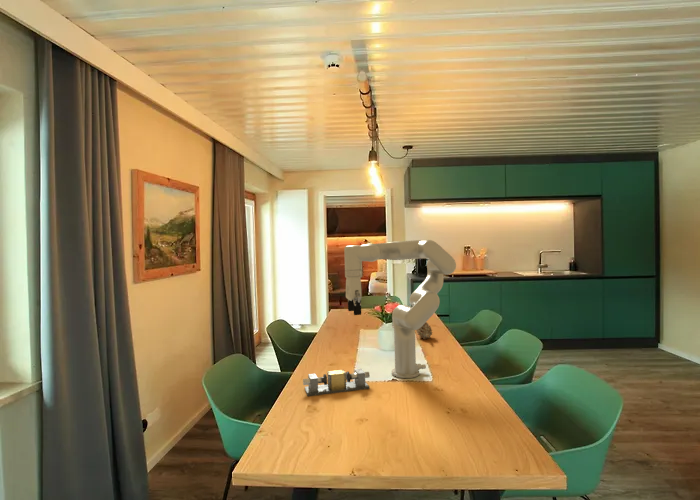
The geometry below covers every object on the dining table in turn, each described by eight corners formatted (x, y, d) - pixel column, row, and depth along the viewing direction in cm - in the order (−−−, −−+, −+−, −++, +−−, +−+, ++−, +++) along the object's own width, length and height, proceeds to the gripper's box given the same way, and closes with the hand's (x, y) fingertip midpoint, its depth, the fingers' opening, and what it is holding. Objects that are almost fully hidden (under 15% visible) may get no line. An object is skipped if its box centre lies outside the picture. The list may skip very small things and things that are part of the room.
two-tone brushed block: (329, 389, 165) (329, 374, 165) (327, 385, 169) (327, 371, 169) (346, 387, 166) (346, 373, 166) (343, 383, 171) (343, 369, 171)
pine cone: (414, 335, 255) (413, 320, 254) (428, 335, 255) (428, 319, 255) (422, 344, 233) (421, 327, 232) (438, 344, 233) (438, 327, 233)
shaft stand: (366, 381, 175) (365, 366, 175) (371, 388, 167) (371, 372, 167) (302, 389, 168) (301, 373, 168) (305, 396, 160) (304, 380, 160)
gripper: (340, 272, 182) (341, 310, 182) (350, 275, 165) (351, 317, 166) (356, 271, 184) (357, 308, 184) (367, 275, 167) (368, 315, 168)
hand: (354, 312), depth 175 cm, fingers open, 9 cm apart
